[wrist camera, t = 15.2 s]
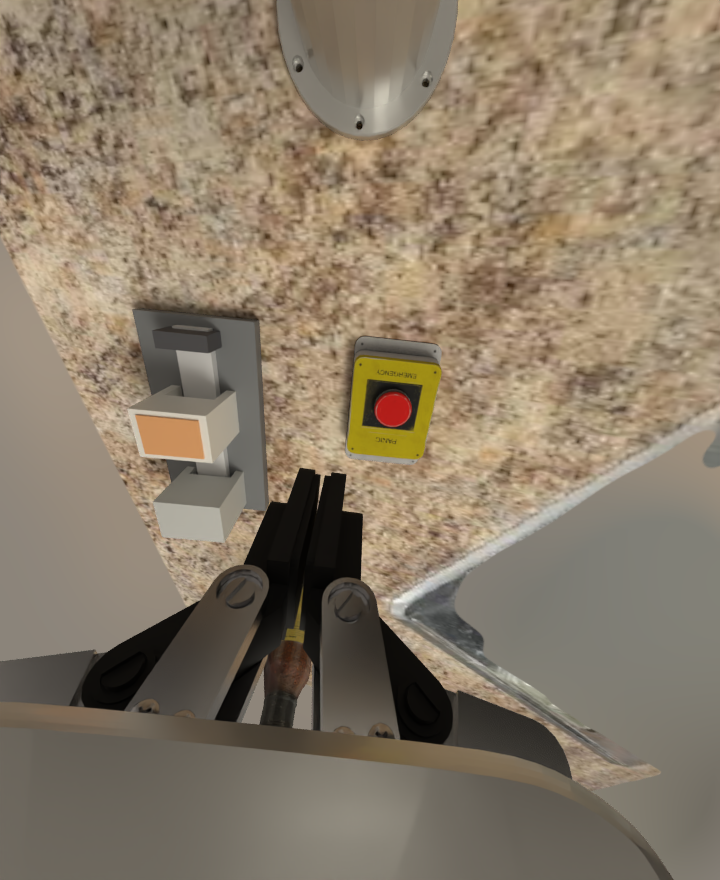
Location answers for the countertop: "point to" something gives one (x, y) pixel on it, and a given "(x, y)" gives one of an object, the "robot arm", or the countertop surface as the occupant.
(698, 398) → the countertop surface
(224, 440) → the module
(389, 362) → the emergency button
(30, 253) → the countertop surface
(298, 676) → the sauce bottle
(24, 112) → the countertop surface
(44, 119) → the countertop surface
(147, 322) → the rail board
